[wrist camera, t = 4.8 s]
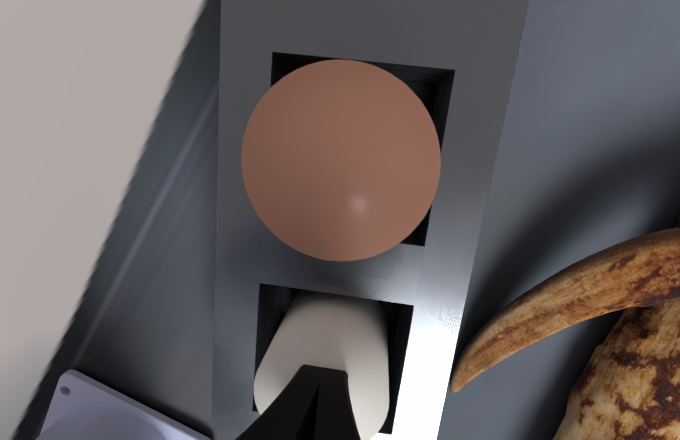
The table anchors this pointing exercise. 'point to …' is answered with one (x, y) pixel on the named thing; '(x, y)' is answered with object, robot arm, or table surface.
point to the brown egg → (340, 160)
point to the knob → (332, 352)
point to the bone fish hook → (618, 348)
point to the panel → (411, 253)
